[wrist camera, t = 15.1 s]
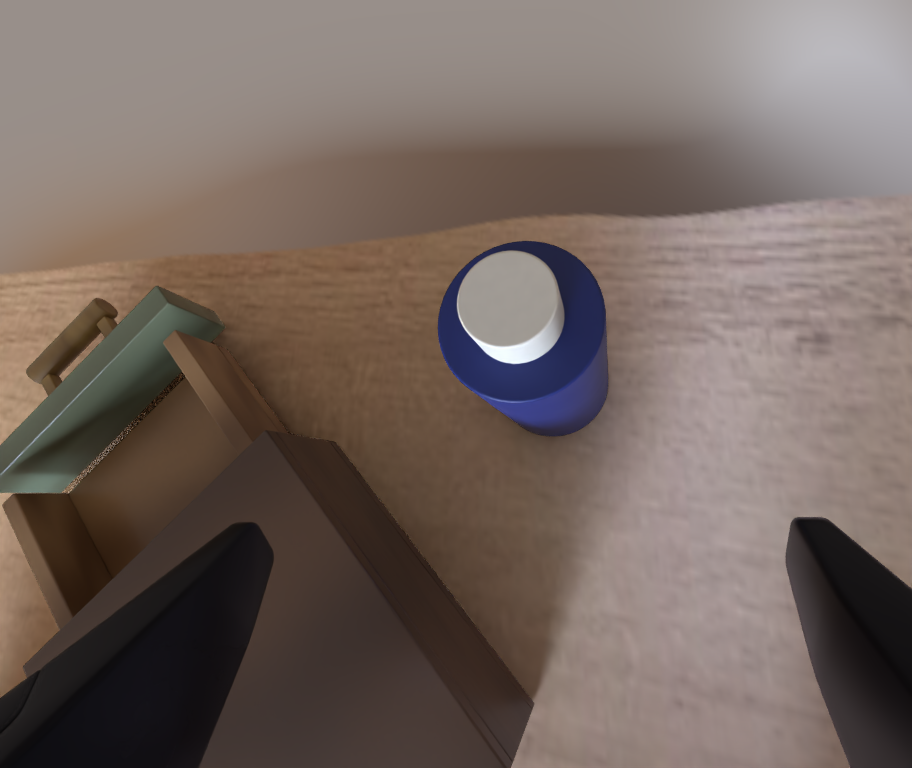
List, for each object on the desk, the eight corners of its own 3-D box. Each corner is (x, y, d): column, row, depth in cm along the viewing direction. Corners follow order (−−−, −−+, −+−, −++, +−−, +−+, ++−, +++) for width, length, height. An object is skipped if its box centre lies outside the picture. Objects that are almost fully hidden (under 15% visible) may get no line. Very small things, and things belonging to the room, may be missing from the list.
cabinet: (136, 633, 25) (21, 666, 20) (335, 441, 24) (265, 428, 19) (285, 922, 21) (185, 1054, 16) (535, 703, 20) (509, 772, 15)
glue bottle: (624, 416, 21) (634, 352, 11) (517, 450, 22) (443, 418, 12) (586, 316, 22) (567, 181, 13) (487, 352, 23) (397, 252, 13)
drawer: (24, 421, 29) (-55, 411, 25) (178, 262, 28) (118, 230, 24) (161, 689, 23) (85, 722, 20) (357, 504, 22) (312, 506, 19)
